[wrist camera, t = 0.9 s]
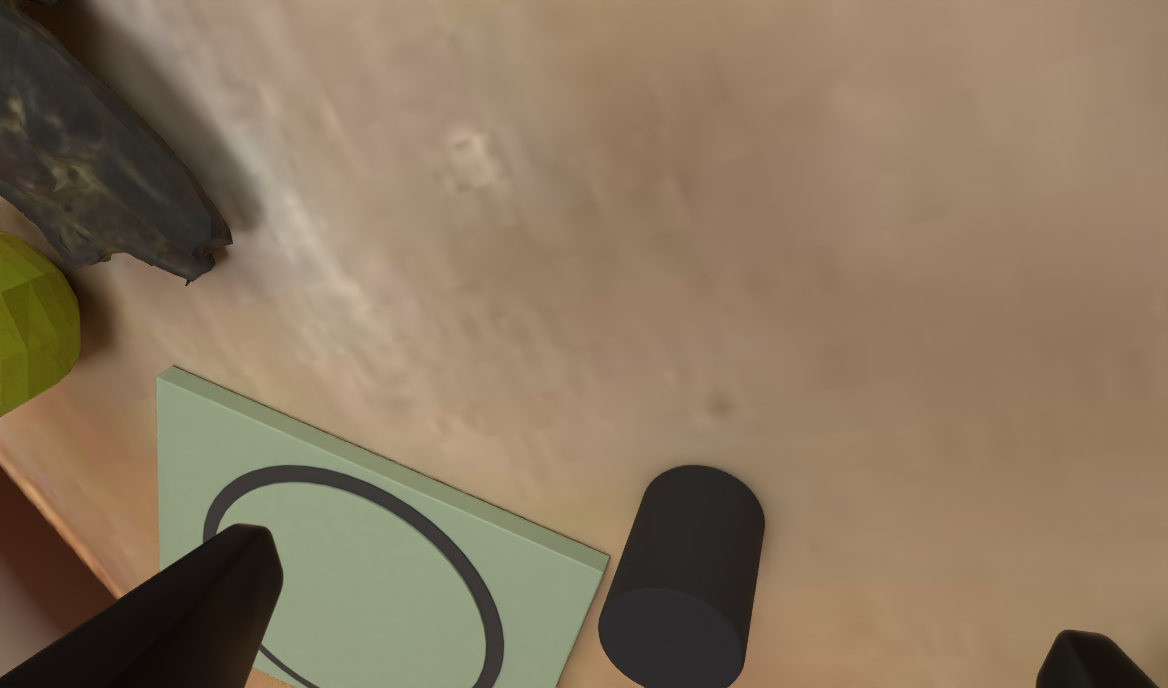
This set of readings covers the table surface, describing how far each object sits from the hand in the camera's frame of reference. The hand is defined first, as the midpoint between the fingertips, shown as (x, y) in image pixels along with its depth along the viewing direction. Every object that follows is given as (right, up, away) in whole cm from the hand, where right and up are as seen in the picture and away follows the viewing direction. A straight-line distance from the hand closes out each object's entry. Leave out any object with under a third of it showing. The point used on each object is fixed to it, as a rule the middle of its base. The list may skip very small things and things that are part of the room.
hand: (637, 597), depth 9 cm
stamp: (+3, -2, +14) cm, 15 cm away
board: (-9, -6, +20) cm, 23 cm away
